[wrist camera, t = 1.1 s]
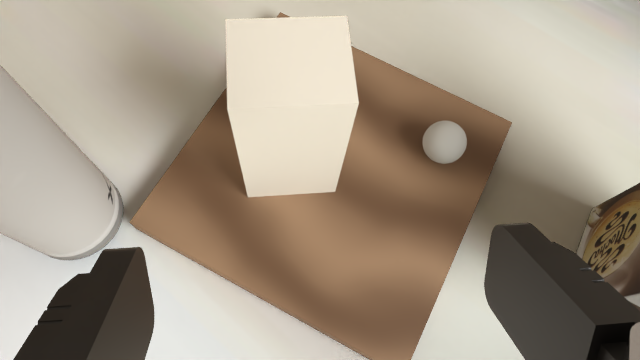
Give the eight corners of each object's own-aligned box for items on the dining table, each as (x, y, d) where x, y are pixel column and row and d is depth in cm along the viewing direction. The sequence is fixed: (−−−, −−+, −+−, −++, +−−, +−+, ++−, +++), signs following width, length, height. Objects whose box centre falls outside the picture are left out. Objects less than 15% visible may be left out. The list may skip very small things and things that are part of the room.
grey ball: (427, 126, 36) (439, 105, 33) (464, 144, 35) (479, 125, 33) (411, 158, 35) (422, 139, 32) (449, 177, 34) (463, 160, 32)
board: (280, 24, 40) (280, 12, 39) (503, 131, 38) (511, 122, 36) (136, 228, 33) (129, 222, 32) (398, 375, 31) (403, 376, 29)
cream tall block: (335, 191, 33) (358, 103, 22) (247, 197, 33) (227, 109, 22) (328, 127, 35) (347, 15, 24) (245, 131, 35) (225, 19, 24)
